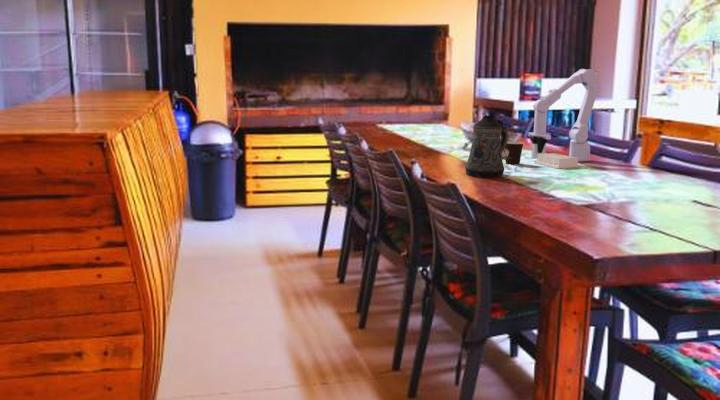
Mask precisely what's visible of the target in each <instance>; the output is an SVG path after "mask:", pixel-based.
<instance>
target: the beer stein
mask: <svg viewBox="0 0 720 400" xmlns="http://www.w3.org/2000/svg"><path fill="white" fill-rule="evenodd" d="M472 129H473V130H472V131H473V137H472V142H471V147H470V152H469V156H468V157H467V162H466V164H465V166H464V167H465V174H466V176H468V177H472V178H482V179H492V178H494V179H495V178H496V179H497V178H501V177H503V176H504V172H505V166H504V162H503V158H502V152H503V150H504V148H505V146H506V144H507V142H509V141H508V140H509V132H508V129H507V127H506V126H505V125H504V122H503V121H502V120H500V119H498V118H495V116H494V115H484V116H483V117H482V118H481V119H480V120H479V121H477V123H475V124H474V125H473V126H472ZM500 136H501V139H500Z"/></svg>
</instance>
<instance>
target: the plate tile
mask: <svg viewBox="0 0 720 400" xmlns="http://www.w3.org/2000/svg"><path fill="white" fill-rule="evenodd" d="M531 145H532V146H531V156H530V157H531V159H533V160H534V159H537V155H538V154H546V149H547V143H546V144H545V146H544V148H543V151H542V153H538V146H537V144H533V143H532V144H531Z"/></svg>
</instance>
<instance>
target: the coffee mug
mask: <svg viewBox="0 0 720 400" xmlns="http://www.w3.org/2000/svg"><path fill="white" fill-rule="evenodd" d="M523 146H524V143H523V142H521V141H507V144H506V146H505V150H504V153H505V157H504V158H505V164H506V165H509V164H511V165H512V164H513V165H514V164H519V165H520V163H521V158H522V151H523ZM511 165H510V166H511ZM513 165H512V166H513ZM514 166H515V165H514Z"/></svg>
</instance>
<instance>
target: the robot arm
mask: <svg viewBox="0 0 720 400" xmlns="http://www.w3.org/2000/svg"><path fill="white" fill-rule="evenodd" d="M577 84H582V86H583V87H584V89H585V93H584V96H583V99H582V102H581V106H580V109H579V113H578V116H577V120H576V121H575V123H573V126H572V127H571V129H570V130H569V132H568V137H569V138H570V140H569V141H570V142H569V153H568V156H573V157H578V163H579V162H587V161H588V162H590V161H591V159H590V157H591V145H590V143H589V142H587V140H588V138H589V126H588V124H589V121H590V118H591V115H592V111H593V108H594V104H595V101H596V97H597V96H598V92H599V84H598V75H597V73H596V72H595V71H594V69H590V68H588V69H585V68H580V69H579V70H577V71H576V72H574V73H573V74H572V75H571V76H570V77H568V79H566V80H565V81H564V82H563V83H562V84H561V85H560V86H559V87H557V88H552V89H549V90H548V91H547V93H545V95H543V96H541V97H540V99H537V100H535V102H534V104H533V105H532V106H533V109H534V118H533V119H534V121H533V131H530V132H528V134H527V136H528V137H531V138H530V140H531V142H532V144H537V146H538V153H542V151H543V148H544V146H545V144H546V145H547V142H549V141H548V140H551V139H552V135H550V134H547V118H548V117H547V114H548V111H549V110H550V107H552V106H553V105H554V104H555V103H556V102H557V101H558V100H560V99H561V98H562V94H564V93H565V92H566V91H567V90H569V89H570V88H572V87H573V86H574V85H577Z"/></svg>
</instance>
